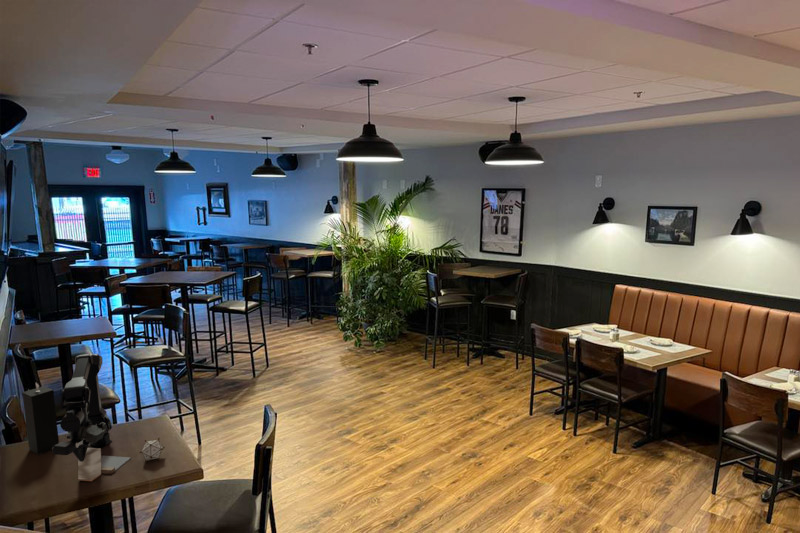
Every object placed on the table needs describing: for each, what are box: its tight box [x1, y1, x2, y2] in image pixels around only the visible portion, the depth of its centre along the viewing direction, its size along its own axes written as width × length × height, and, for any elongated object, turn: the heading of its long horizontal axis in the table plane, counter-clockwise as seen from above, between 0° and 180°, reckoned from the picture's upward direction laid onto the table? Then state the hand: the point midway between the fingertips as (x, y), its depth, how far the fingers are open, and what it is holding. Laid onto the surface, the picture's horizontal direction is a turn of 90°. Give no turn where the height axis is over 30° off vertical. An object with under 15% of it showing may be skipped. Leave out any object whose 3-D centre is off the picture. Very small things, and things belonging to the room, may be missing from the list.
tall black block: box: [21, 382, 60, 456], centre depth 202 cm, size 8×8×28 cm
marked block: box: [77, 448, 102, 482], centre depth 183 cm, size 5×5×10 cm
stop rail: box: [101, 466, 116, 475], centre depth 187 cm, size 12×2×2 cm, turn 83°
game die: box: [139, 437, 166, 463], centre depth 195 cm, size 9×8×10 cm
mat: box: [101, 455, 132, 472], centre depth 193 cm, size 12×9×1 cm
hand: (81, 461), depth 179 cm, fingers closed
